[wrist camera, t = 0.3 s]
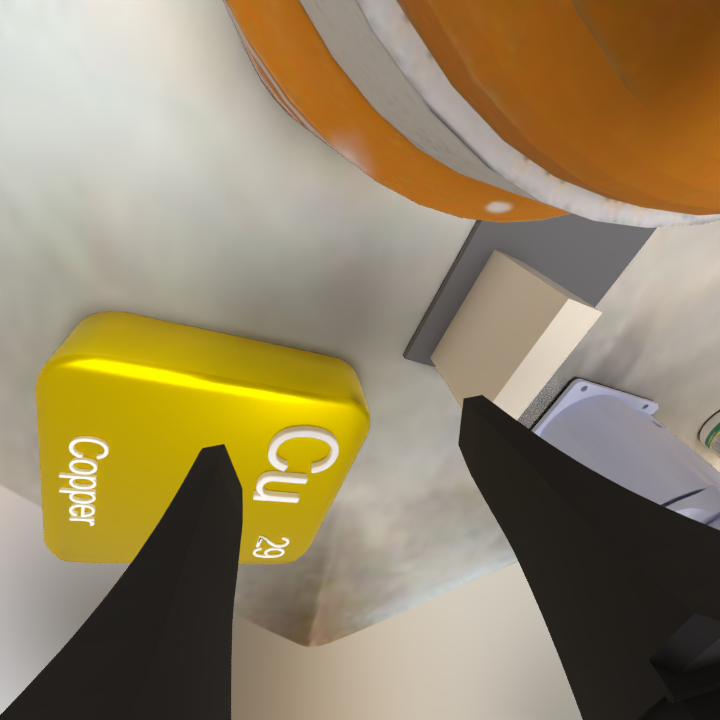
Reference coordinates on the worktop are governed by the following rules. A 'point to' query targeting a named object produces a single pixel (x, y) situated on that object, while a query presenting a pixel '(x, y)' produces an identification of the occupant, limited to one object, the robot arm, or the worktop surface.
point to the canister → (508, 100)
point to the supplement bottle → (712, 434)
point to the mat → (533, 264)
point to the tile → (510, 335)
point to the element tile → (188, 434)
